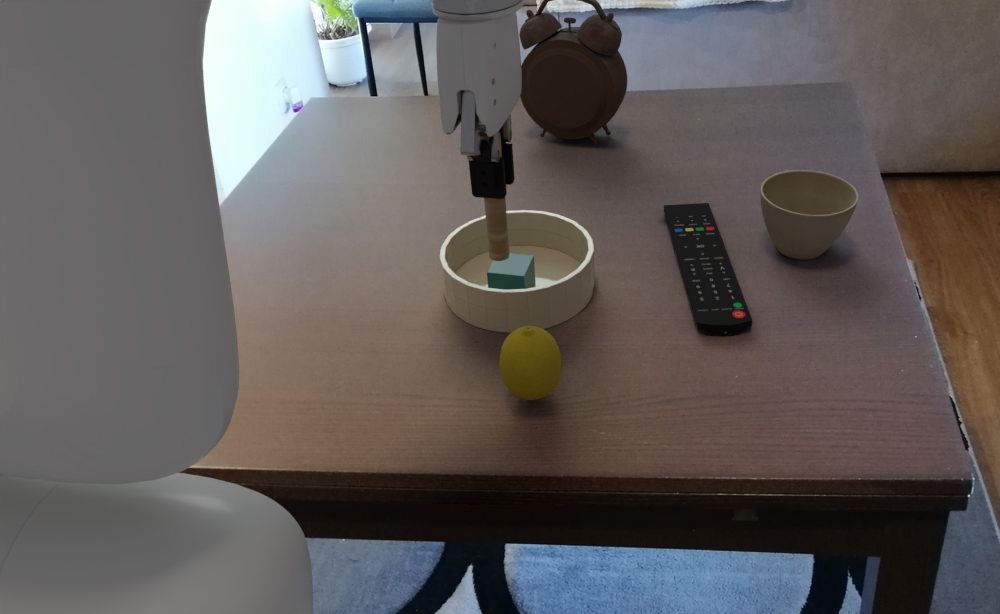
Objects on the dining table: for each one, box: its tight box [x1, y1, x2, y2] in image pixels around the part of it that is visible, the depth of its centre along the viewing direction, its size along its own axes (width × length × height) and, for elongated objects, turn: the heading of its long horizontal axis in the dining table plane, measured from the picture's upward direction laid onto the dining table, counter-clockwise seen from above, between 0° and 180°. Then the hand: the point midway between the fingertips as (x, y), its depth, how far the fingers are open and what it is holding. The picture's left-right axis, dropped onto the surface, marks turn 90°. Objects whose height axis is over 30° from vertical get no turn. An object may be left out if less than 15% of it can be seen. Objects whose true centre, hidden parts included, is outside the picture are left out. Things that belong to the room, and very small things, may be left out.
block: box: [487, 253, 536, 290], centre depth 91 cm, size 4×4×4 cm
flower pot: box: [759, 169, 860, 261], centre depth 95 cm, size 10×10×7 cm
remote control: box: [663, 202, 753, 337], centre depth 95 cm, size 5×24×1 cm, turn 179°
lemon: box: [499, 326, 563, 401], centre depth 78 cm, size 6×6×8 cm
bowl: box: [438, 209, 595, 334], centre depth 93 cm, size 16×16×5 cm
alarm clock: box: [519, 0, 628, 146], centre depth 119 cm, size 15×7×20 cm, turn 65°
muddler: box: [479, 131, 510, 261], centre depth 82 cm, size 2×2×13 cm
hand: (493, 188), depth 81 cm, fingers closed on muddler, 2 cm apart
